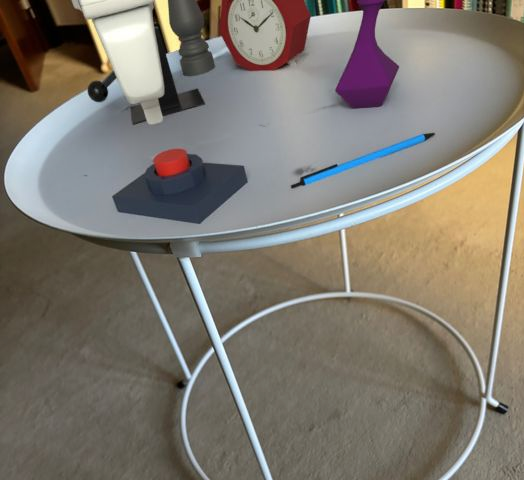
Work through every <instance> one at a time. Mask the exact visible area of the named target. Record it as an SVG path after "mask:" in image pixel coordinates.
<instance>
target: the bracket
mask: <svg viewBox="0 0 524 480" xmlns="http://www.w3.org/2000/svg"><path fill="white" fill-rule="evenodd" d="M153 23H154V29H155V34H156V40H157V45H158V51H159V57H160V62H161V68H162V74H163V81H164V95H163V96H162V97H160V98H158V101H159V105H160V109H161V112H162V116H163V117H166V116H170V115H173V114H176V113H181V112H184V111H186V110H190V109H194V108H198V107H201V106H204V105H206V103H205V99H204V98H203V97H202V93H201V92H200V89H199V88H194V89H191V90H186V91H183V92H180V93H178V91H177V87H176V84H175V81H174V77H173V73H172V70H171V67H170V63H169V60H168V55H167V52H166V49H165V45H164V43H163V39H162V34H161V32H160V28H159V26H158V23H157V22H156V21H153ZM129 109H130V116H131V123H132V125H133V126H135V125H137V124H141V123H145V122H147V120H146V117H145V114H144V111H143V108H142V106H141V104H140V103H139V104H136V105H134V106H131V107H129Z"/></svg>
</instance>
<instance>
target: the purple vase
mask: <svg viewBox="0 0 524 480" xmlns="http://www.w3.org/2000/svg"><path fill="white" fill-rule="evenodd" d="M385 1H386V0H357V1H356V4H358V5H360V6H361V9H362V17H361V22H360V26H359V31H358V33H357V36H356V40H355V43H354V47H353V49H352V52H351V54H350V56H349V59H348V61H347V64H346V66H345V68H344V70H343V72H342V74H341V76H340V78H339V80H338V82H337V84H336V87H335V88H334V91H335V92H336V93H337V94H338V95H339V96H340V98H342V100H343V101H344V102H345V103H346V104H347V105H348V106H349V107H351V109H365V108H366V109H367V108H377V107H382V106H383V105H384V102H385V100H386V98H387V96H388V93H389V92H390V89H391V87H392V85H393V83H394V81H395V78H396V76H397V73H398V71H399V69H400V65H399V64H398V63H396V62H395V61H394V60H393V59H392V58H390V56H389V55H387V54H386V53H385V52H384V51H383V50H382V48H381V47H380V46H379V45H378V42H377V39H376V26H377V19H378V16H379V12H380V10H381V8H382V6H383V5H384V2H385Z"/></svg>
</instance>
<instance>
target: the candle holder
mask: <svg viewBox="0 0 524 480" xmlns="http://www.w3.org/2000/svg"><path fill="white" fill-rule="evenodd" d="M167 9H168V22H169V27H170V29H171V31H172V32H173V33H174V35H175V36H176V37H177V39H178V41H179V42H180V44H179V48H178V55H179V56H180V57H181V58H180V59H179V64H180V67H181V71H182V75H183V76H184V77H196V76H200V75H204V74H206V73H209V72H211V71H212V70H214V69H215V68H216V63H215V60H214V57H213V56H214V55H213V52H212V51H211V50H209V48H210V45H209V43H208V42H207V41H206V40H205V39H204V38H203V37H202V36H203V32H202V31H203V28H204V23H205V21H204V15H203V12H202V11H201V9H200V6H199V4H198V1H197V0H167Z"/></svg>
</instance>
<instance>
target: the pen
mask: <svg viewBox="0 0 524 480" xmlns="http://www.w3.org/2000/svg"><path fill="white" fill-rule="evenodd" d="M435 135H436V132H428V133H421V134H419V135H416V136H413V137H410V138H407V139H405V140H402V141H399V142H397V143H395V144H392V145H389V146H386V147H383V148H381V149H378V150H375V151H372V152H370V153H368V154H365V155H362V156H360V157H356V158H354V159H351V160H348V161H346V162H344V163H340V164H337V163H336V164H332V165H330V166H327V167H324V168H322V169H319V170H316V171H313V172H312V173H309V174H306V175H303V176H300V178H299V182H296V183H294V184H291V185H290V188H291V189H295V188H298V187H300V186H302V187H305V186H307V185H310V184H313V183H315V182H319V181H321V180H323V179H324V180H325V179H326V178H329V177H331V176H334V175H337V174H340V173H342V172H345V171H348V170H351V169H353V168H356V167H358V166H360V165H364V164H366V163H369V162H371V161H374V160H377V159H381V158H383V157H386V156H389V155H392V154H394V153H398V152H400V151H402V150H406V149H408V148H410V147H412V146H415V145H418V144H421V143H423V142H426V141H428V140H429V139H430V138H432V137H433V136H435Z"/></svg>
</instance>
